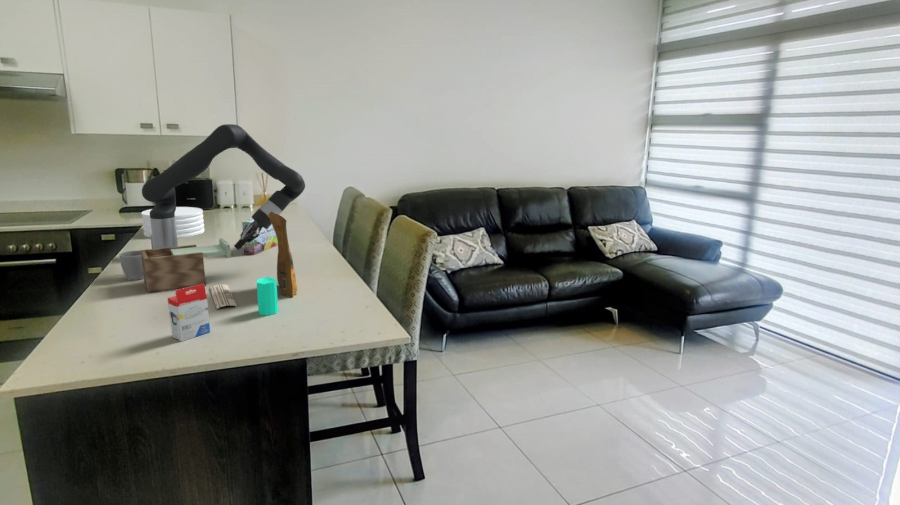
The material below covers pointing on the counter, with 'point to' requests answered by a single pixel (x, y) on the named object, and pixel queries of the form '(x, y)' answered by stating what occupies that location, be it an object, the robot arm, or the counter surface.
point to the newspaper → (222, 296)
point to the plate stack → (180, 222)
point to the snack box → (260, 240)
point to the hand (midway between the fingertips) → (236, 248)
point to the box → (171, 269)
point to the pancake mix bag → (284, 257)
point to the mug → (132, 264)
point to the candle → (267, 296)
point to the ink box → (189, 313)
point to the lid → (206, 250)
